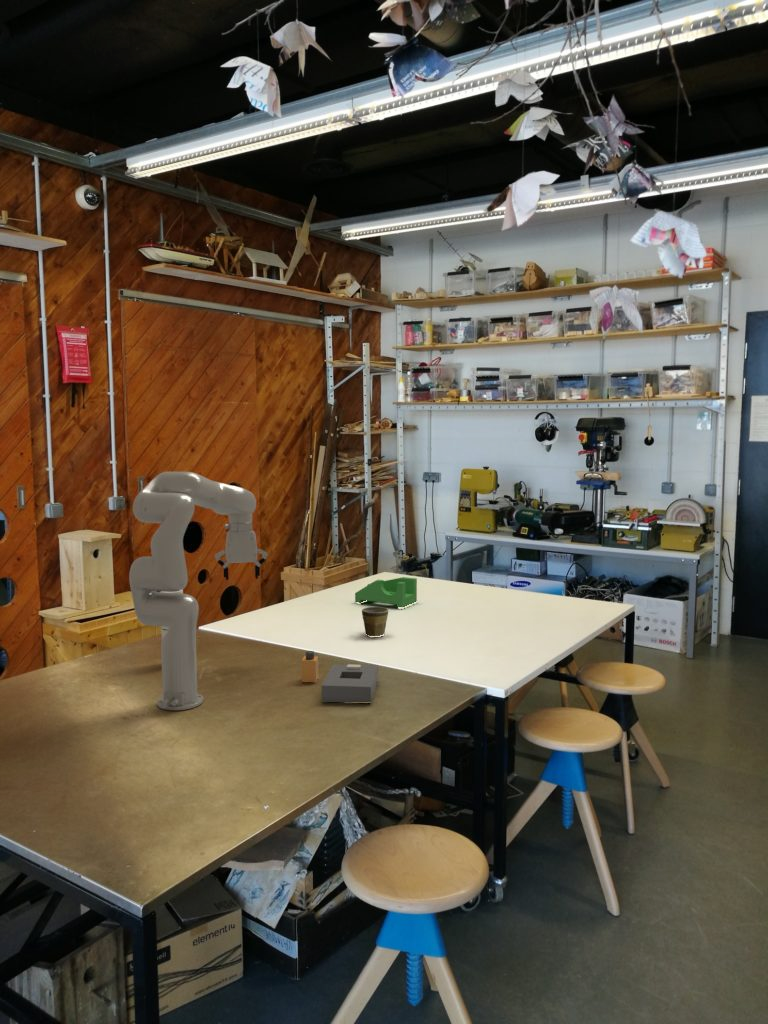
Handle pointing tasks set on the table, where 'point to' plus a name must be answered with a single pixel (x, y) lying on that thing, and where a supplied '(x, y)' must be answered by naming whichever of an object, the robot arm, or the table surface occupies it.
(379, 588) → the ramp block with notch
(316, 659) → the plug
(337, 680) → the socket
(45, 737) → the table surface
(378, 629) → the ceramic cup
